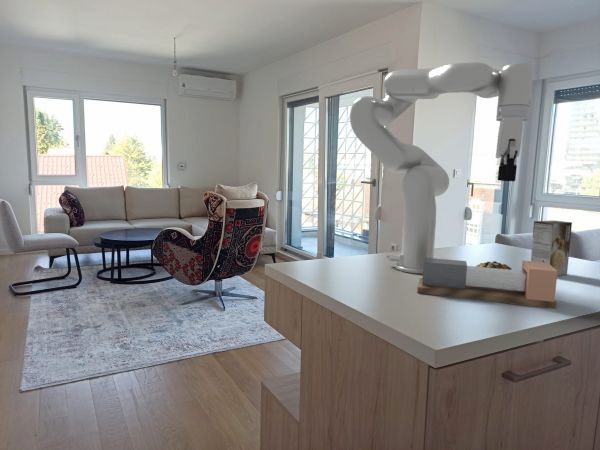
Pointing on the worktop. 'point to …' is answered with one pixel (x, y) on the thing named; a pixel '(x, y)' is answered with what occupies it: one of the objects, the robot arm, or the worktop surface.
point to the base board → (486, 295)
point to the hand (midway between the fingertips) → (505, 180)
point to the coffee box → (552, 244)
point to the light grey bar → (496, 278)
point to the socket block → (540, 280)
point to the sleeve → (444, 273)
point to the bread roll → (493, 265)
